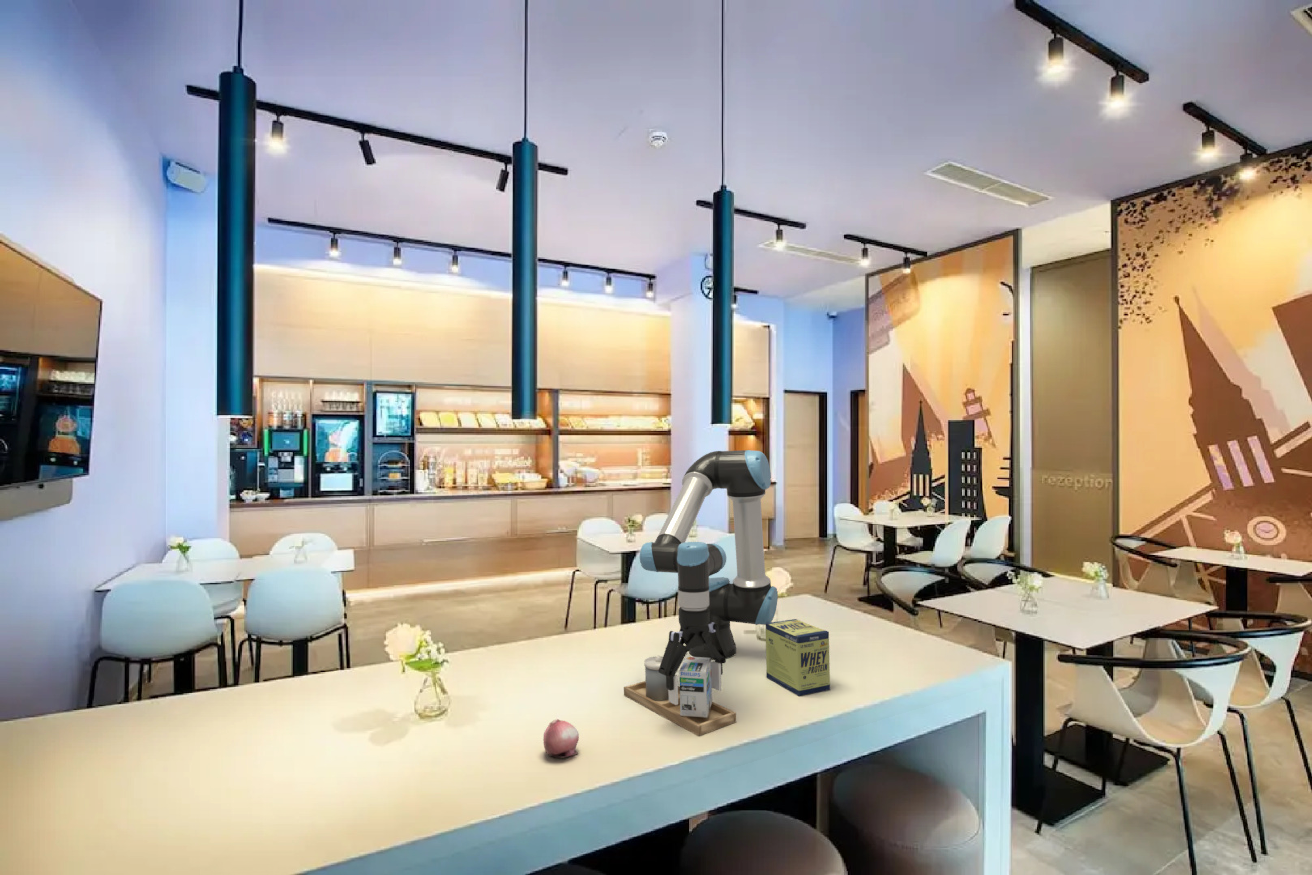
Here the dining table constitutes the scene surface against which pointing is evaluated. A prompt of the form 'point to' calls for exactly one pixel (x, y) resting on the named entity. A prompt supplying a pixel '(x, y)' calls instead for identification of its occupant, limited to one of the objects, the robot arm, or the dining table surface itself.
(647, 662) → the slate jar
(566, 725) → the onion
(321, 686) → the dining table surface
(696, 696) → the light bulb box
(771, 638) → the protein box
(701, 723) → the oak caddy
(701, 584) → the robot arm
